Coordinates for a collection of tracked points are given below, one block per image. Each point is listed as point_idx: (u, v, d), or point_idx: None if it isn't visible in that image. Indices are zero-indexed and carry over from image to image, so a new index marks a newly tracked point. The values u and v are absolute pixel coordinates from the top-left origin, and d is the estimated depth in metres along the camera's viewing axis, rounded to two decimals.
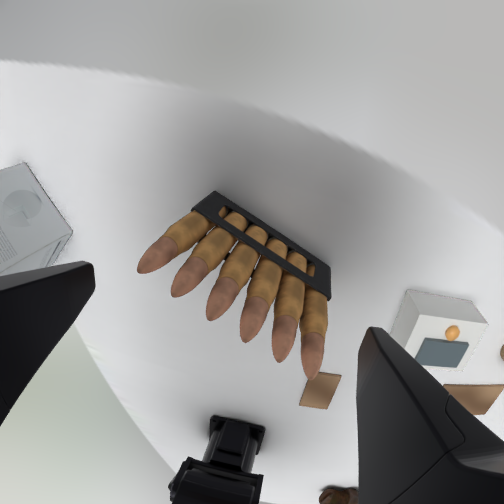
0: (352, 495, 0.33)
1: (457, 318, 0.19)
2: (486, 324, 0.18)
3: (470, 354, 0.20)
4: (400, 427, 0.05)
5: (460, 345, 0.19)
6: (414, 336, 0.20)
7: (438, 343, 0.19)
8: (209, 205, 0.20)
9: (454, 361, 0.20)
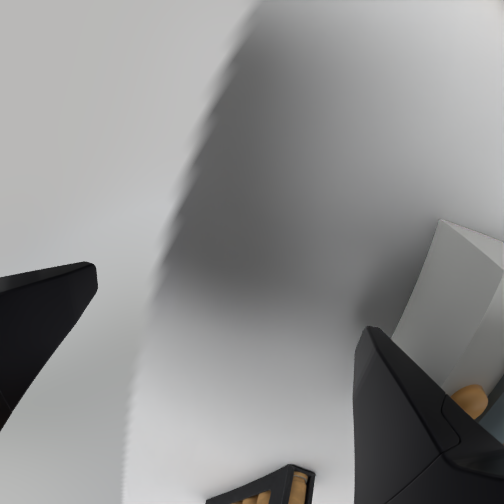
0: None
1: None
2: (502, 281, 0.05)
3: None
4: (395, 427, 0.05)
5: None
6: None
7: None
8: None
9: None
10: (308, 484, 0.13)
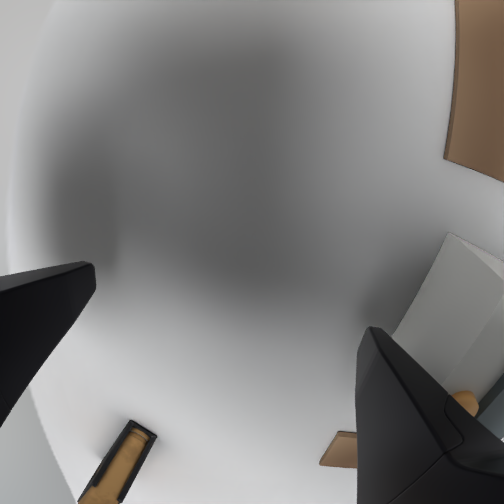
0: None
1: None
2: None
3: None
4: (399, 427, 0.05)
5: None
6: None
7: None
8: None
9: None
10: None
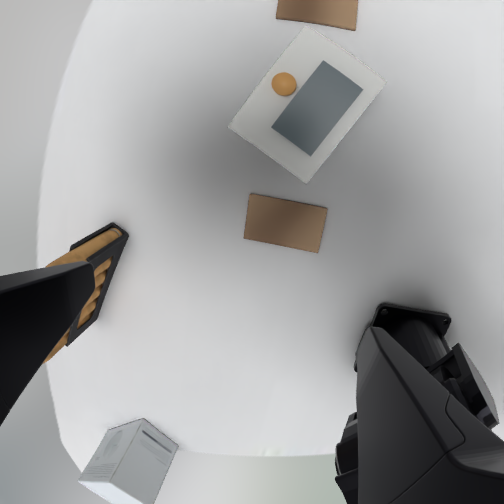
0: None
1: (267, 72, 0.14)
2: (304, 28, 0.12)
3: (354, 61, 0.12)
4: (400, 427, 0.05)
5: (314, 74, 0.13)
6: (262, 143, 0.15)
7: (288, 109, 0.14)
8: None
9: (345, 90, 0.13)
10: None
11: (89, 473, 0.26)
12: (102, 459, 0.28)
